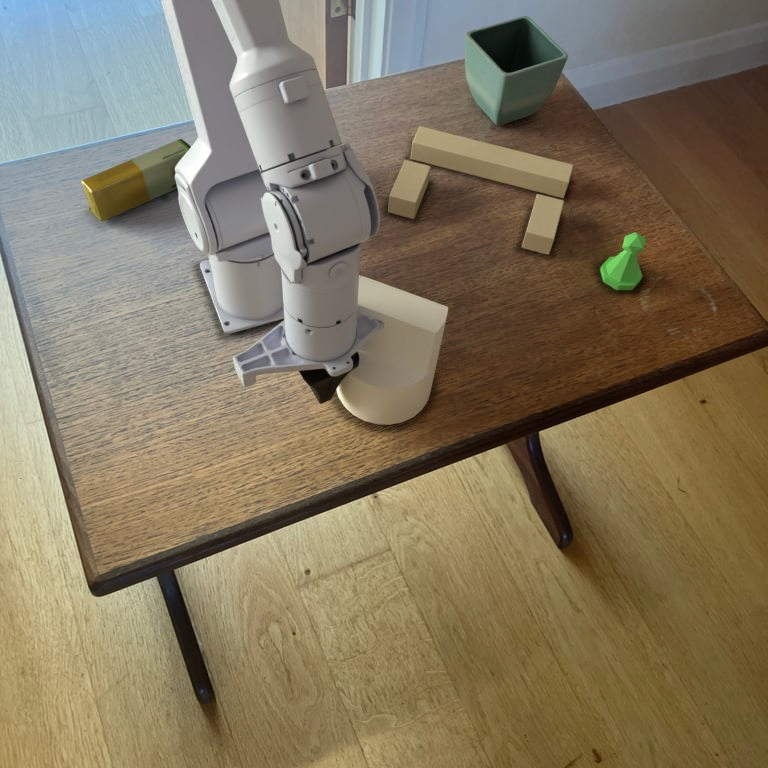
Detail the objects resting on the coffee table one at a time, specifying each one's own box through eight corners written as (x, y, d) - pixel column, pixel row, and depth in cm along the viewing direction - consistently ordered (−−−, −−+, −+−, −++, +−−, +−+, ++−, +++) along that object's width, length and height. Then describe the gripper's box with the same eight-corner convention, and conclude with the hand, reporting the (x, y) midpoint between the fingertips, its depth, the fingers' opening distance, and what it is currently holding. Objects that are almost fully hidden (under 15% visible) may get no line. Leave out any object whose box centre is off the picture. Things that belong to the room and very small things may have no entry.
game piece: (636, 296, 85) (656, 257, 80) (596, 284, 86) (613, 245, 81) (643, 266, 87) (662, 227, 82) (603, 255, 88) (620, 215, 83)
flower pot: (453, 97, 101) (463, 31, 93) (512, 79, 103) (527, 13, 96) (490, 141, 97) (504, 76, 89) (552, 121, 99) (570, 56, 92)
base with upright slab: (444, 365, 79) (463, 283, 69) (410, 438, 74) (425, 362, 64) (358, 332, 80) (364, 247, 70) (319, 403, 75) (320, 322, 65)
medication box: (188, 167, 91) (182, 136, 88) (201, 179, 90) (195, 148, 87) (89, 210, 87) (78, 179, 83) (100, 223, 85) (90, 192, 82)
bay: (548, 255, 87) (554, 239, 85) (387, 212, 89) (389, 195, 87) (568, 181, 94) (573, 164, 92) (417, 142, 96) (419, 125, 94)
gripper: (254, 372, 59) (265, 460, 70) (428, 302, 63) (412, 396, 74) (216, 302, 62) (232, 398, 73) (384, 240, 66) (375, 340, 78)
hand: (321, 393), depth 74 cm, fingers closed
